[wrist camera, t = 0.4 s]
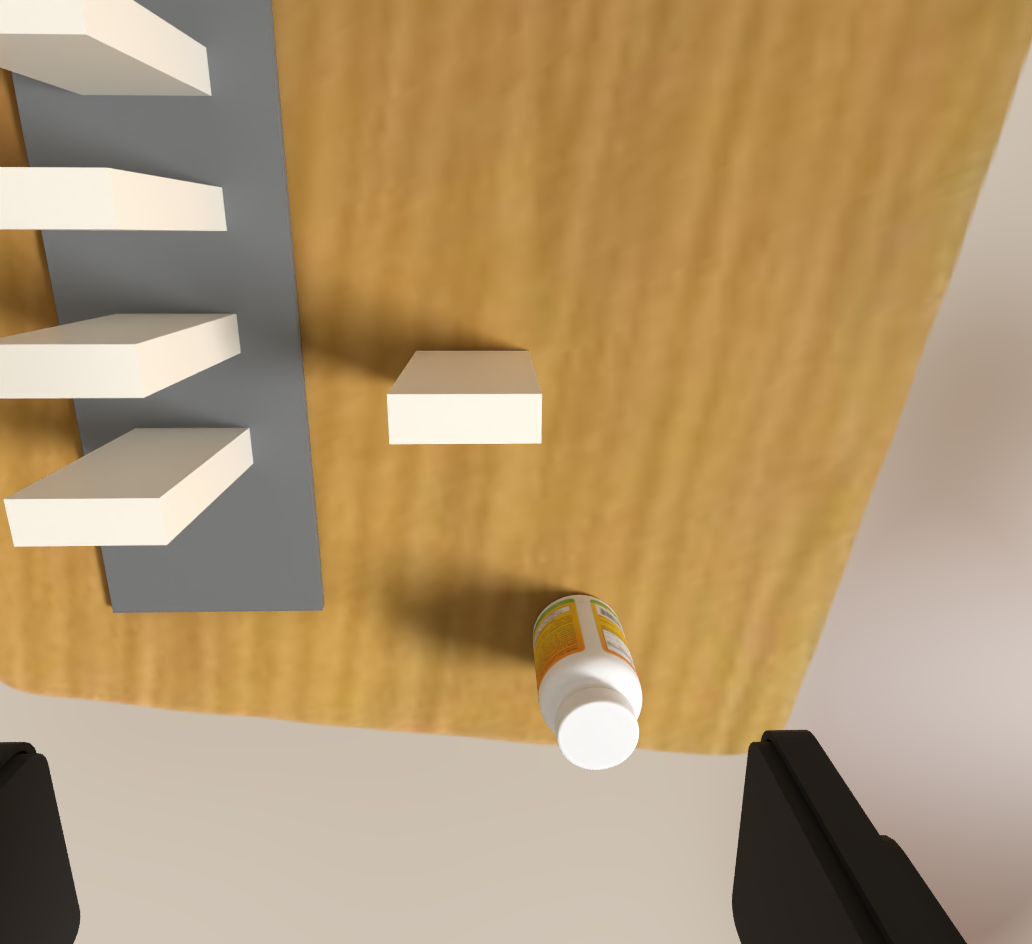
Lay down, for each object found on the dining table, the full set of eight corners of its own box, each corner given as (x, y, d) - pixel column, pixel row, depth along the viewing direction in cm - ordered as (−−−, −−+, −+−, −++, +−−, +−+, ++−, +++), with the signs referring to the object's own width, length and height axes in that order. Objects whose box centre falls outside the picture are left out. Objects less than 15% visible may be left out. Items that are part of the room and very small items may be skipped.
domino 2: (96, 186, 35) (-73, 166, 25) (221, 187, 35) (107, 167, 25) (103, 230, 36) (-58, 228, 25) (226, 231, 36) (116, 229, 26)
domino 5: (416, 350, 39) (386, 394, 28) (529, 350, 39) (541, 393, 28) (417, 388, 39) (389, 444, 29) (528, 387, 39) (541, 443, 29)
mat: (0, -27, 33) (-8, -32, 32) (269, -24, 33) (265, -28, 33) (118, 607, 43) (113, 612, 42) (324, 605, 43) (322, 610, 43)
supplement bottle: (528, 668, 45) (537, 780, 36) (535, 589, 43) (547, 685, 34) (615, 672, 45) (646, 785, 36) (626, 594, 43) (661, 691, 34)
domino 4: (135, 428, 39) (3, 499, 28) (249, 427, 39) (159, 498, 29) (141, 464, 40) (14, 546, 29) (253, 463, 40) (166, 545, 29)
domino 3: (117, 313, 37) (-32, 344, 27) (236, 313, 37) (135, 344, 27) (123, 353, 38) (-20, 398, 27) (240, 352, 38) (143, 397, 27)
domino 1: (73, 46, 33) (-120, -40, 23) (205, 47, 34) (74, -38, 23) (81, 94, 34) (-103, 32, 24) (211, 95, 34) (86, 34, 24)
